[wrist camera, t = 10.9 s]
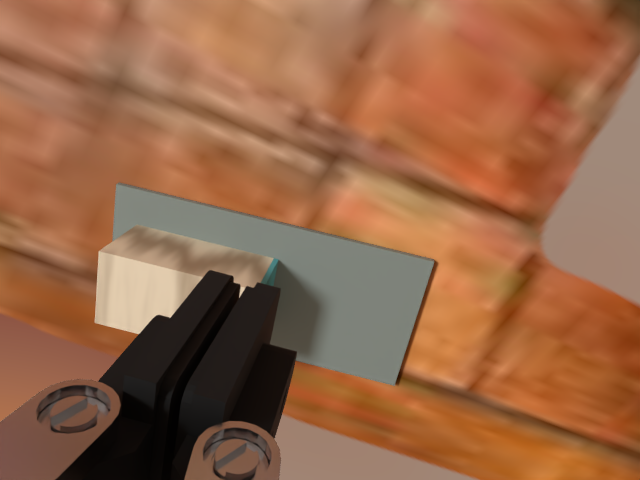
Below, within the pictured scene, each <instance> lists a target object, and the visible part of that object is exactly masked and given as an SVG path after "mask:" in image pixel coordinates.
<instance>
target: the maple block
mask: <svg viewBox="0 0 640 480" xmlns="http://www.w3.org/2000/svg"><path fill="white" fill-rule="evenodd" d="M278 260H279V259H275V258H271V257H267V256H263V255H259V254H254V253H250V252H246V251H242V250H238V249H234V248H230V247H226V246H222V245H218V244H214V243H210V242H206V241H202V240H198V239H194V238H190V237H186V236H182V235H178V234H174V233H170V232H166V231H161V230H157V229H153V228H149V227H145V226H141V225H136V226H134V227H133V228H131V229H130V230H128V231H127V232H126V233H124V234H123V235H121V236H120V237H118V238H117V239H116V240H114V241H113V242H111V243H110V244H108V245H107V246H106V247H104V248H103V249H101V250H100V251H99V258H98V275H97V293H96V311H95V323H98V324H102V325H105V326H109V327H113V328H117V329H121V330H125V331H129V332H133V333H137V334H140V332H141V331H142V330H143V329H144V328H145V327H146V326H147V324H148V323H149V322H150V321H151V320H152V319H153V318H154V317H155V316H156V315H162V316H166V317H170V318H171V316H172V315H173V314H174V313H175V311H176V310H177V309H178V308H179V306H180V305H181V304H182V303H183V301H184V300H185V299H186V298H187V297H188V295H189V294H190V293H191V292H192V290H193V289H194V288H195V287H196V285H197V284H198V283H199V282H200V280H201V279H202V278H203V277H204V276H205V274H206V273H207V272H208V271H209V270H213V271H216V272H220V273H224V274H228V275H232V276H233V277H234V283H238V284H240V285H241V289H240V295H239V298H240V296H241V294H242V293H243V291H244V289H245V288H246V286H249V287H253V288H254V287H255V285H256V283H257V282H259V283H263V284H266V285H270V286H273V285H274V280H275V275H276V270H277V265H278Z"/></svg>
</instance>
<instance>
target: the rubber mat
mask: <svg viewBox="0 0 640 480" xmlns="http://www.w3.org/2000/svg"><path fill="white" fill-rule="evenodd" d="M136 225H141V226H145V227H149V228H153V229H157V230H161V231H166V232H170V233H174V234H178V235H182V236H186V237H190V238H194V239H198V240H202V241H206V242H210V243H214V244H218V245H222V246H226V247H230V248H234V249H238V250H242V251H246V252H250V253H254V254H259V255H263V256H267V257H271V258H275V259H279V260H278V265H277V270H276V275H275V280H274V285H273V286H274V287H278V288H281V292H280V298H279V303H278V307H277V312H276V317H275V322H274V327H273V332H272V336H271V341H270V344H271V345H275V346H279V347H282V348H286V349H290V350H294V351H297V356H296V361H300V362H303V363H307V364H311V365H315V366H319V367H323V368H327V369H331V370H335V371H339V372H343V373H347V374H350V375H354V376H358V377H362V378H366V379H370V380H374V381H378V382H382V383H386V384H390V385H395V382H396V379H397V376H398V373H399V370H400V367H401V364H402V361H403V358H404V354H405V351H406V348H407V345H408V342H409V339H410V336H411V333H412V330H413V327H414V323H415V320H416V317H417V314H418V311H419V308H420V305H421V302H422V299H423V296H424V293H425V289H426V286H427V283H428V280H429V277H430V274H431V271H432V268H433V265H434V259H430V258H426V257H422V256H417V255H413V254H409V253H405V252H401V251H397V250H393V249H389V248H385V247H381V246H377V245H372V244H368V243H364V242H360V241H356V240H352V239H348V238H344V237H340V236H336V235H332V234H327V233H323V232H319V231H315V230H311V229H307V228H303V227H299V226H295V225H291V224H287V223H282V222H278V221H274V220H270V219H266V218H262V217H258V216H254V215H250V214H246V213H242V212H237V211H233V210H229V209H225V208H221V207H217V206H213V205H209V204H205V203H201V202H197V201H192V200H188V199H184V198H180V197H176V196H172V195H168V194H164V193H160V192H156V191H151V190H147V189H143V188H139V187H135V186H131V185H127V184H123V183H118V184H116V196H115V211H114V226H113V241H114V240H116V239H117V238H118V237H120V236H121V235H123V234H124V233H126V232H127V231H128V230H130V229H131V228H133V227H134V226H136ZM113 241H112V242H113Z"/></svg>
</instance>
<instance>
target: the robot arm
mask: <svg viewBox="0 0 640 480" xmlns="http://www.w3.org/2000/svg"><path fill="white" fill-rule="evenodd" d="M240 289H241V285H240V284H238V283H234V277H233V276H232V275H228V274H224V273H220V272H216V271H213V270H209V271H208V272H207V273H206V274H205V276H204V277H203V278H202V279H201V280H200V282H199V283H198V284H197V285H196V287H195V288H194V289H193V290H192V292H191V293H190V294H189V295H188V297H187V298H186V299H185V300H184V301H183V303H182V304H181V305H180V306H179V308H178V309H177V310H176V311H175V313H174V314H173V315H172V316H171V318H170V317H166V316H162V315H156V316H155V317H154V318H153V319H152V320H151V321H150V322H149V323H148V324H147V326H146V327H145V328H144V329H143V330H142V331H141V332H140V334H139V335H138V336H137V337H136V338H135V339H134V341H133V342H132V343H131V344H130V345H129V346H128V347H127V349H126V350H125V351H124V352H123V353H122V354H121V355H120V357H119V358H118V359H117V360H116V361H115V362H114V364H113V365H112V366H111V367H110V368H109V369H108V370H107V372H106V373H105V374H104V375H103V376H102V377H101V378H100V380H99V381H98V382H97V381H94V380H83V379H76V380H69V381H63V382H60V383H57V384H54V385H51V386H49V387H47V388H46V389H44V390H42V391H41V392H39V393H38V394H36V395H35V396H34V397H32V398H31V399H30V400H28V401H27V402H26V403H24V404H23V405H22V406H21V407H19V408H18V409H17V410H15V411H14V412H13V413H11V414H10V415H9V416H7V417H6V418H5V419H4V420H2V421H1V422H0V480H279V476H280V464H281V457H280V449H279V447H278V445H277V443H276V441H275V439H274V438H275V435H276V432H277V429H278V425H279V422H280V419H281V416H282V412H283V409H284V405H285V401H286V398H287V394H288V390H289V386H290V382H291V378H292V374H293V369H294V365H295V361H296V356H297V351H294V350H290V349H286V348H282V347H279V346H275V345H271V344H270V341H271V336H272V332H273V327H274V322H275V317H276V312H277V307H278V303H279V298H280V292H281V288H278V287H274V286H270V285H266V284H263V283H259V282H257V283H256V285H255V287H254V288H253V287H249V286H246V288H245V289H244V291H243V293H242V294H241V296H240V298H239V295H240Z"/></svg>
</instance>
